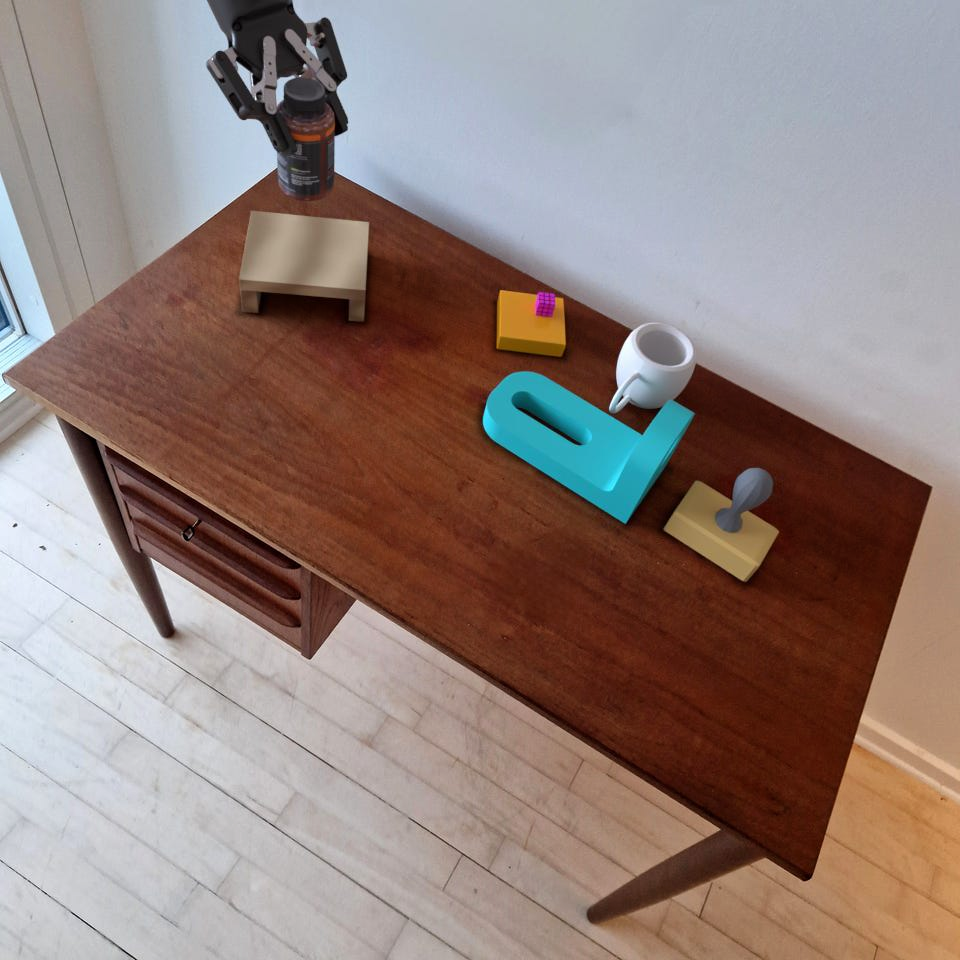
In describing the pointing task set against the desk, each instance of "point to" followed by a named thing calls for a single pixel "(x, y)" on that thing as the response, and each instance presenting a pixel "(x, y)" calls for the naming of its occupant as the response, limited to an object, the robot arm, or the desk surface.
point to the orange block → (531, 323)
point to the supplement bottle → (307, 141)
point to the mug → (653, 366)
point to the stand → (305, 259)
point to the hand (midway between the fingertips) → (316, 143)
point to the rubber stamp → (727, 523)
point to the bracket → (583, 441)
